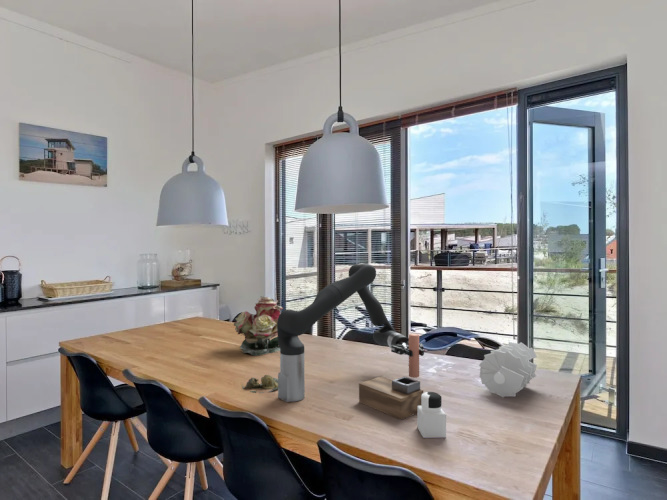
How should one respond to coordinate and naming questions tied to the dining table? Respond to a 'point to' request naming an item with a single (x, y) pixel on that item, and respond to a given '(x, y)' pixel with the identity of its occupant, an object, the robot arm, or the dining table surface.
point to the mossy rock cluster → (267, 383)
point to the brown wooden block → (392, 396)
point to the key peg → (414, 355)
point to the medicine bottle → (431, 416)
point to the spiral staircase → (508, 369)
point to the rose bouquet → (259, 327)
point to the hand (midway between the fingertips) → (417, 353)
